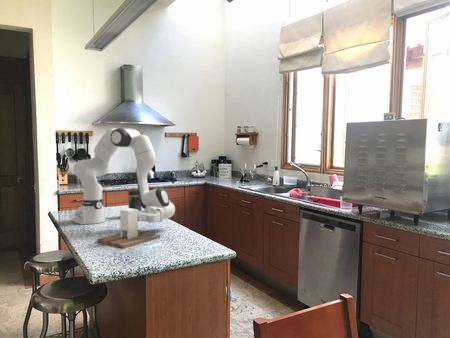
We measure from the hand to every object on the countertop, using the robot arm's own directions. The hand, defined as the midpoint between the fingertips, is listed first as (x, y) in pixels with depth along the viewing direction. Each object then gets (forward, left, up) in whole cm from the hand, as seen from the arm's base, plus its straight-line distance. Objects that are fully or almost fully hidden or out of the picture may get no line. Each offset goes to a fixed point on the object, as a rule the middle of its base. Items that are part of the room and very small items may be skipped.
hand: (131, 218), depth 189 cm
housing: (0, -2, -9) cm, 9 cm away
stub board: (0, -2, -11) cm, 11 cm away
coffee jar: (-40, +38, -11) cm, 56 cm away
